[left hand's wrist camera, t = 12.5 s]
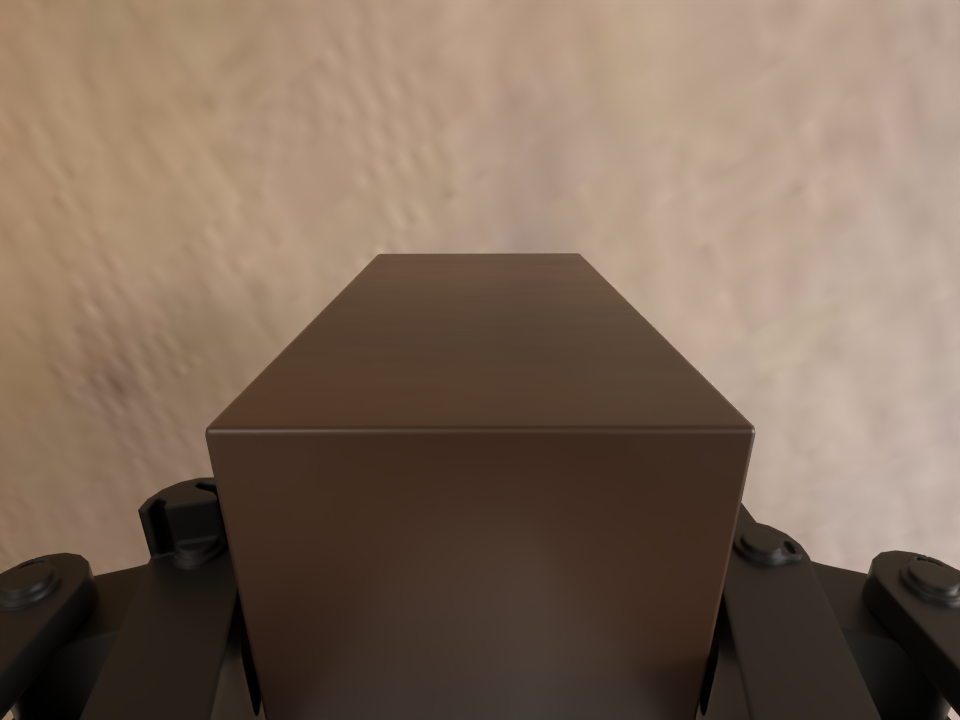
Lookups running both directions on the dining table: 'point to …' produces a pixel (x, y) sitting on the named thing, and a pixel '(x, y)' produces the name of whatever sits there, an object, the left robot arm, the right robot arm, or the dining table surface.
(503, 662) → the beam
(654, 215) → the dining table surface
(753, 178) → the dining table surface
